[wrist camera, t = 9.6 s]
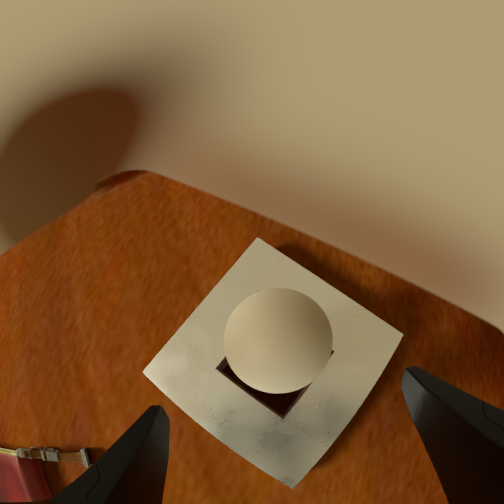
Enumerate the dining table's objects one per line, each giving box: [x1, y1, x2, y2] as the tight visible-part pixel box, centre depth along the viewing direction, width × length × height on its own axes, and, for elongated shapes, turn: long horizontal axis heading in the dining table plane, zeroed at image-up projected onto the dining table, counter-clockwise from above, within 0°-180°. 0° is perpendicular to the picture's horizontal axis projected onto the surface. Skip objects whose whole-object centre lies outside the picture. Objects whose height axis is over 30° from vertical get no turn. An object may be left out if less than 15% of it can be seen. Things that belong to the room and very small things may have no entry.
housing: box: [143, 237, 404, 489], centre depth 20 cm, size 14×14×3 cm
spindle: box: [224, 288, 333, 394], centre depth 16 cm, size 4×4×13 cm
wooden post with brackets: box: [16, 447, 92, 467], centre depth 17 cm, size 2×8×4 cm, turn 103°
